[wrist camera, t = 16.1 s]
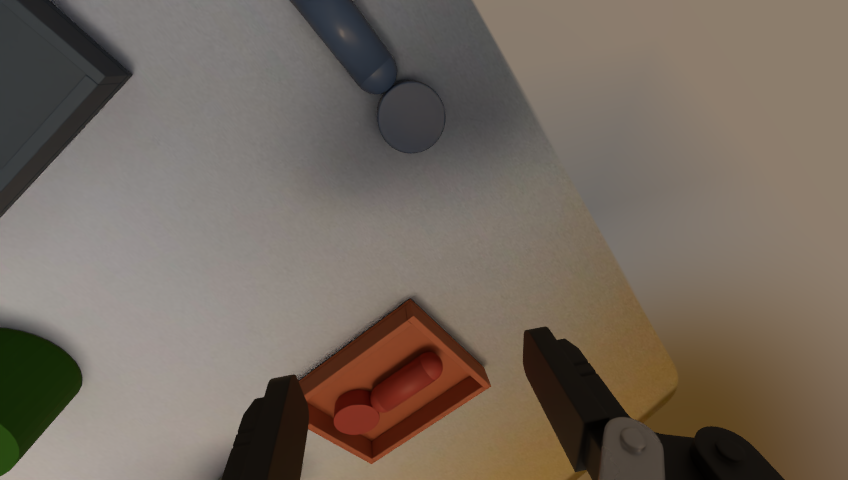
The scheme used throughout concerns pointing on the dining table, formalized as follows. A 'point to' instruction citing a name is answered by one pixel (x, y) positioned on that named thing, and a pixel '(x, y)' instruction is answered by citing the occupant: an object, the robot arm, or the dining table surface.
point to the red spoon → (385, 395)
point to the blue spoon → (377, 75)
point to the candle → (31, 391)
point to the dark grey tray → (45, 89)
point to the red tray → (377, 361)
